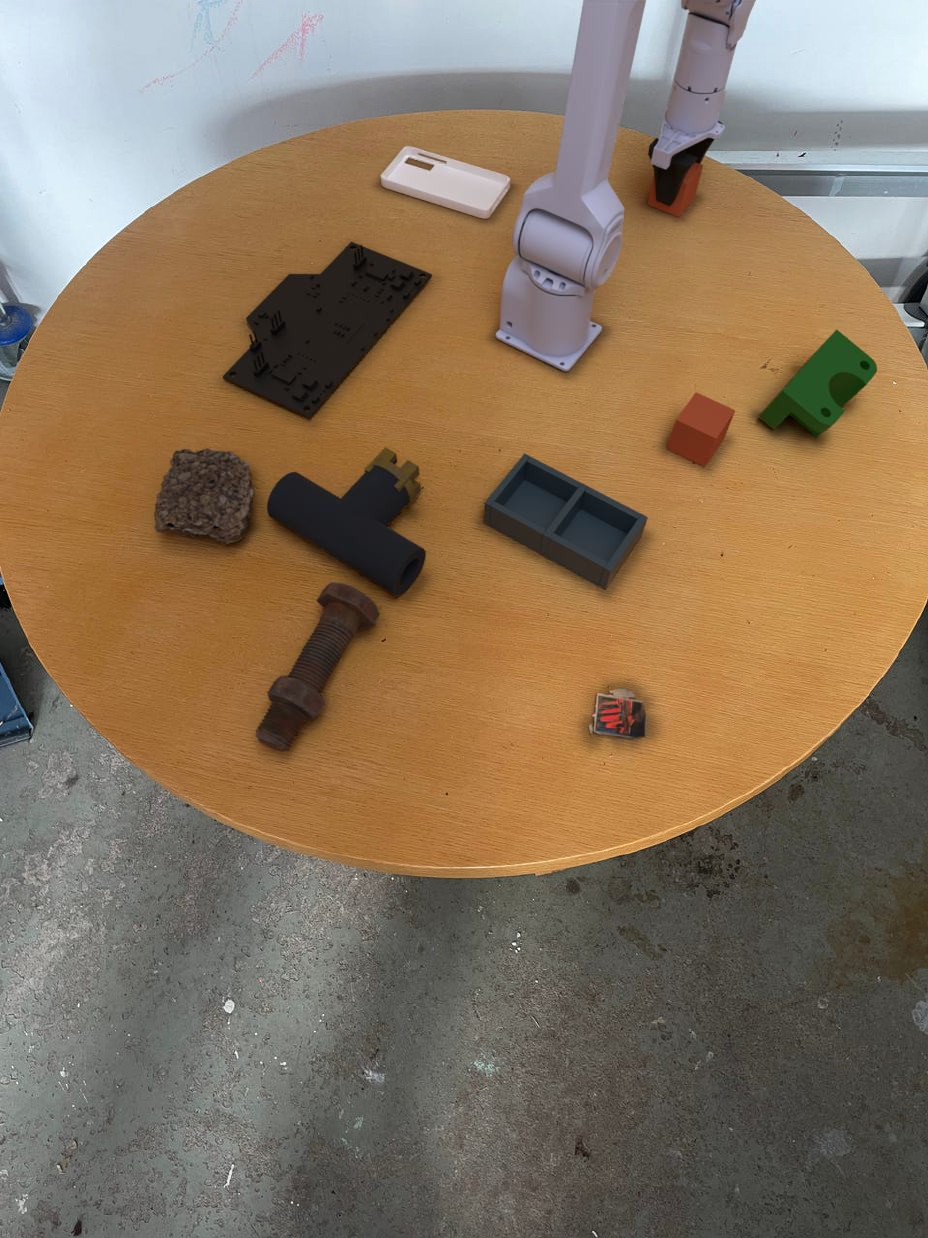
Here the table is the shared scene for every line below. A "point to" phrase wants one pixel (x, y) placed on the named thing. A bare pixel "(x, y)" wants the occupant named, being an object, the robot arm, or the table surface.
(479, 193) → the phone case
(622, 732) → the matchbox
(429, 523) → the table surface
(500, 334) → the robot arm
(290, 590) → the table surface
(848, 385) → the clamp
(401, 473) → the pipe connector
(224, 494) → the concrete sample
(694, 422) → the red cube
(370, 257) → the circuit board
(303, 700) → the bolt
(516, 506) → the grey rectangular tray
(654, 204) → the orange cube
